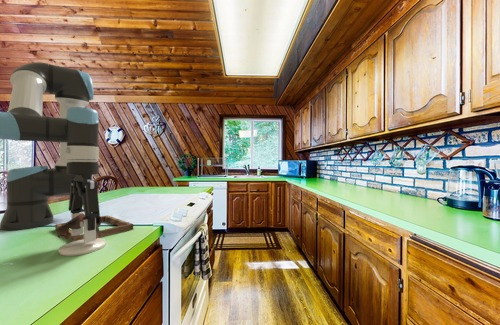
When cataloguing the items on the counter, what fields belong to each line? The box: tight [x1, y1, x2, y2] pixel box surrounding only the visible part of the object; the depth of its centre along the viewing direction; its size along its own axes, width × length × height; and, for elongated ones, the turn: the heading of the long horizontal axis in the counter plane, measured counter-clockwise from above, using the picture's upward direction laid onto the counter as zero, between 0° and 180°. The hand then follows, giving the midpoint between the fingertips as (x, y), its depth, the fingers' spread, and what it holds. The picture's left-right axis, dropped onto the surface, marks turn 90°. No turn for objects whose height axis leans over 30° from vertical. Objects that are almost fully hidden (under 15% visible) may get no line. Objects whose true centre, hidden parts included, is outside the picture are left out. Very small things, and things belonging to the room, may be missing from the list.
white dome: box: [58, 237, 107, 257], centre depth 66 cm, size 11×11×1 cm
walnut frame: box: [54, 215, 134, 242], centre depth 83 cm, size 22×17×2 cm
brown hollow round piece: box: [55, 213, 103, 240], centre depth 66 cm, size 12×10×8 cm
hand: (83, 237), depth 66 cm, fingers closed on brown hollow round piece, 9 cm apart
